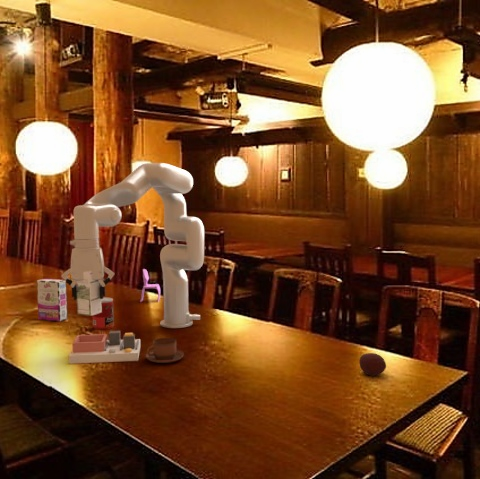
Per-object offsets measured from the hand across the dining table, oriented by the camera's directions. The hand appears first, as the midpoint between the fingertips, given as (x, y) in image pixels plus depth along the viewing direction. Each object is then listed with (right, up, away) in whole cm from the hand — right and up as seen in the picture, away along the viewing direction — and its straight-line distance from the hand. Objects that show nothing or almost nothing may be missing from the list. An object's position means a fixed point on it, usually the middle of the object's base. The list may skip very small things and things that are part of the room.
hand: (88, 298), depth 186 cm
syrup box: (0, -5, +1) cm, 5 cm away
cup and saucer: (+25, -19, -3) cm, 32 cm away
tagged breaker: (+13, -16, +1) cm, 20 cm away
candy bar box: (-28, -14, +51) cm, 60 cm away
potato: (+87, -20, -18) cm, 91 cm away
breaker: (+7, -16, +5) cm, 18 cm away
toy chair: (+6, -10, +86) cm, 87 cm away
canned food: (-4, -15, +37) cm, 41 cm away
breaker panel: (+5, -18, +2) cm, 19 cm away
